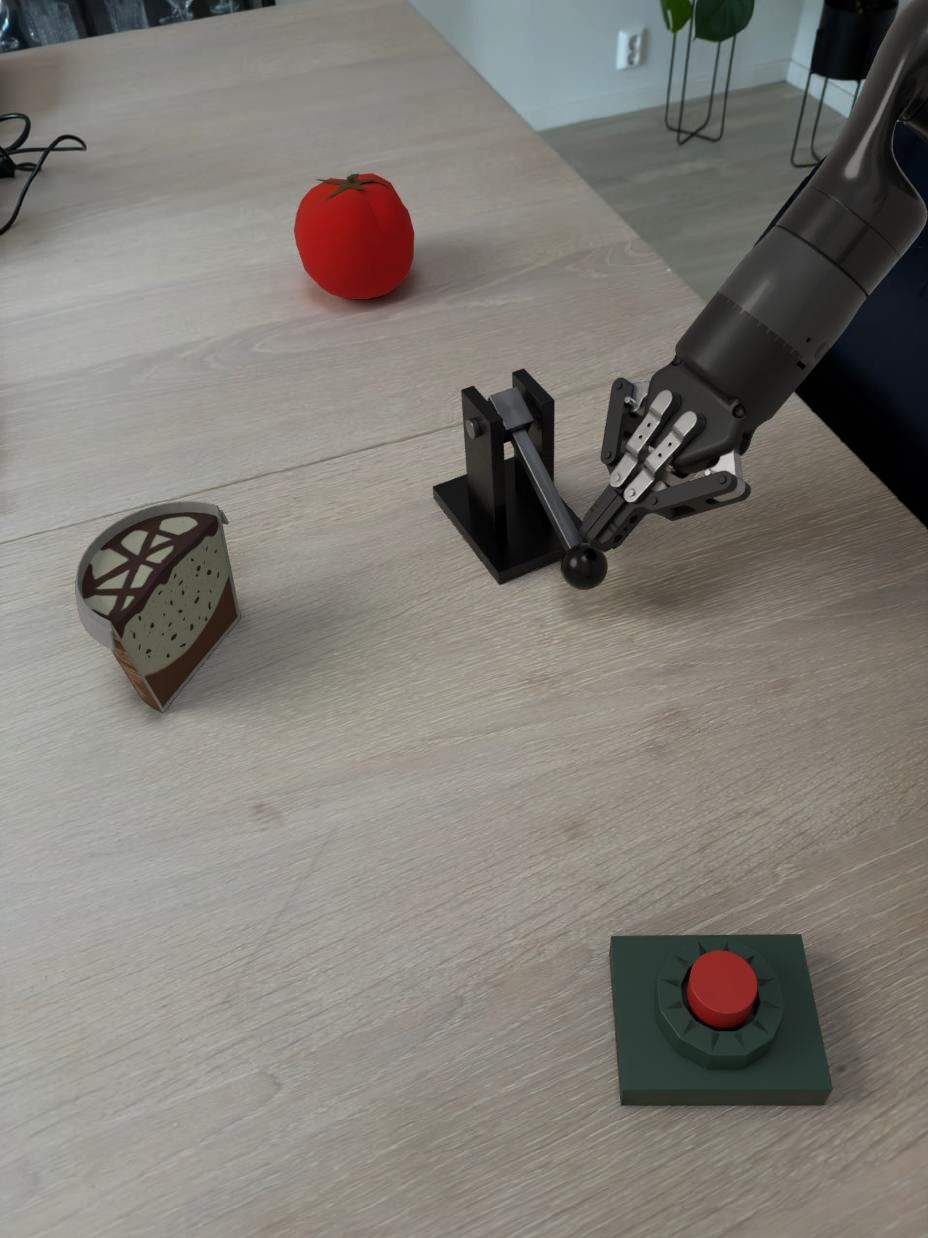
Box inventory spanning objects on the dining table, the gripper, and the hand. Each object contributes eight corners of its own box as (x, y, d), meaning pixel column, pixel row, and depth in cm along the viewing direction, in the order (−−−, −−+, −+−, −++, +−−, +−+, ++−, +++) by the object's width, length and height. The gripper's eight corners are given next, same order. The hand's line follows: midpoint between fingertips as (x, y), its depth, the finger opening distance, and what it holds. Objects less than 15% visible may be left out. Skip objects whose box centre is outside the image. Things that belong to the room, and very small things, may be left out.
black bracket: (593, 546, 81) (599, 418, 73) (499, 585, 79) (493, 457, 71) (522, 464, 88) (519, 338, 79) (433, 497, 86) (420, 371, 77)
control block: (794, 952, 59) (807, 917, 56) (824, 1105, 54) (840, 1076, 51) (609, 954, 60) (612, 919, 57) (620, 1105, 54) (625, 1076, 51)
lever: (607, 586, 76) (622, 571, 73) (567, 602, 75) (580, 588, 72) (514, 402, 79) (524, 380, 76) (475, 416, 78) (483, 394, 75)
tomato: (392, 326, 103) (379, 214, 94) (283, 309, 106) (261, 198, 98) (438, 262, 110) (430, 153, 102) (335, 248, 113) (319, 140, 105)
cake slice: (183, 580, 81) (147, 476, 74) (252, 604, 79) (222, 500, 72) (76, 700, 74) (24, 598, 67) (149, 729, 72) (103, 628, 65)
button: (747, 965, 55) (751, 949, 54) (757, 1028, 53) (762, 1013, 52) (683, 966, 55) (686, 950, 54) (691, 1028, 53) (694, 1013, 52)
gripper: (673, 250, 68) (506, 470, 74) (815, 353, 60) (616, 592, 65) (731, 301, 73) (572, 502, 79) (869, 402, 65) (681, 618, 71)
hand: (592, 542), depth 72 cm, fingers closed
